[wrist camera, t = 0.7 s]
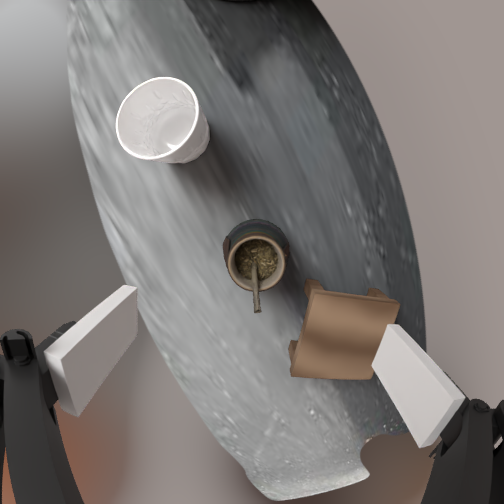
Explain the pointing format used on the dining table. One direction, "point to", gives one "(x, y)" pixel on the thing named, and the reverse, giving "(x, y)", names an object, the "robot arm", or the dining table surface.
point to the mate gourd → (256, 256)
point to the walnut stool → (340, 333)
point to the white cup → (163, 122)
